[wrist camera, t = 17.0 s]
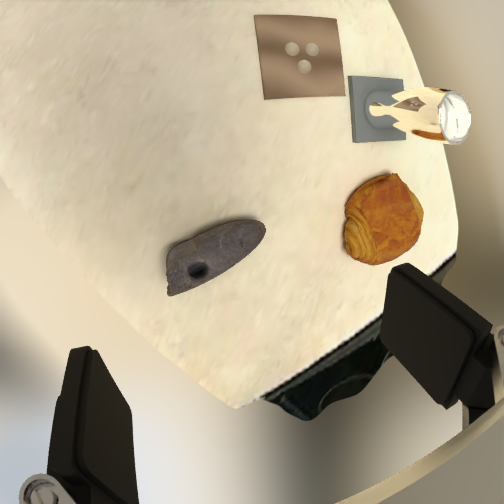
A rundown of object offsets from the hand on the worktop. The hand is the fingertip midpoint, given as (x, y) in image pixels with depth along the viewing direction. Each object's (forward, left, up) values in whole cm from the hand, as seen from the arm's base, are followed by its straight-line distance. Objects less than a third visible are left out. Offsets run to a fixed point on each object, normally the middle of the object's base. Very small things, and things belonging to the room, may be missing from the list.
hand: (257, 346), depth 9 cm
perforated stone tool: (+11, +2, -34) cm, 35 cm away
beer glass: (-5, +30, -32) cm, 44 cm away
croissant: (+12, +30, -34) cm, 47 cm away
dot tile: (-13, +18, -33) cm, 40 cm away
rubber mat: (-5, +30, -33) cm, 45 cm away
